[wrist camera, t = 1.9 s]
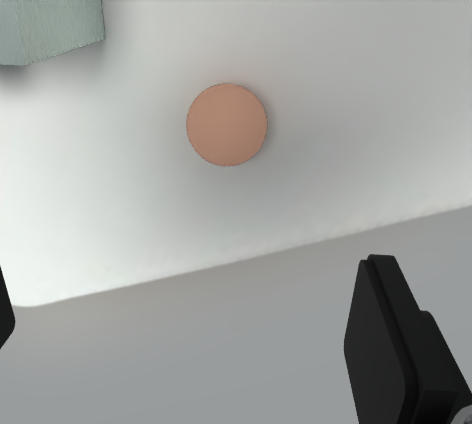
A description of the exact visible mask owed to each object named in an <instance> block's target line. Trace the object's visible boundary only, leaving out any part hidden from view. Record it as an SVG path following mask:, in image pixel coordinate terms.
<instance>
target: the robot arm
mask: <svg viewBox="0 0 472 424" xmlns="http://www.w3.org/2000/svg"><path fill="white" fill-rule="evenodd" d="M14 327H15V317H14V313H13V309H12V306H11V302H10V299H9V295H8V292H7V288H6V285H5V281H4V278H3V274H2V271H1V267H0V349H1V347H2V346H3V345H4V343H5V342H6V340H7V339H8V338H9V336H10V335H11V334H12V332H13V330H14ZM344 355H345V359H346V364H347V369H348V374H349V379H350V383H351V388H352V393H353V397H354V402H355V407H356V411H357V416H358V421H359V424H472V393H471V391H470V389H469V387H468V385H467V383H466V381H465V379H464V377H463V375H462V373H461V371H460V369H459V367H458V365H457V363H456V361H455V359H454V357H453V356H452V353H451V352H450V349H449V348H448V345H447V343H446V341H445V339H444V338H443V335H442V333H441V331H440V330H439V328H438V326H437V324H436V322H435V320H434V318H433V316H432V315H431V314H430V313H429V312H428V311H420V309H419V307H418V305H417V303H416V301H415V299H414V297H413V295H412V293H411V290H410V288H409V286H408V284H407V282H406V280H405V278H404V275H403V273H402V271H401V269H400V267H399V265H398V263H397V261H396V259H395V257H394V256H391V255H373V254H370V255H369V256H368V258H367V260H361V261H360V263H359V267H358V272H357V277H356V282H355V288H354V293H353V298H352V303H351V308H350V313H349V318H348V324H347V328H346V334H345V339H344Z"/></svg>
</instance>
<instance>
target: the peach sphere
mask: <svg viewBox="0 0 472 424" xmlns="http://www.w3.org/2000/svg"><path fill="white" fill-rule="evenodd" d="M186 127H187V134H188V138H189V141H190V143H191V145H192V147H193V148H194V149H195V151H196V152H197V153H198V154H199V155H200V156H201V157H202V158H203V159H205V160H206V161H208V162H210V163H213V164H215V165H220V166H234V165H238V164H241V163H243V162H245V161H247V160H249V159H250V158H252V157H253V156H254V155H255V154H256V153H257V152H258V150H259V149H260V148H261V146H262V144H263V142H264V140H265V136H266V132H267V118H266V114H265V110H264V108H263V106H262V104H261V103H260V101H259V100H258V98H257V97H256V96H255V95H254V94H253V93H251V92H250V91H249V90H247V89H245V88H243V87H241V86H238V85H234V84H220V85H215V86H212V87H210V88H208V89H206V90H205V91H203V92H202V93H201V94H200V95H198V97H197V98H196V99H195V100H194V102H193V103H192V105H191V107H190V109H189V112H188V115H187V121H186Z"/></svg>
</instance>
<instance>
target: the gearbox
mask: <svg viewBox="0 0 472 424" xmlns="http://www.w3.org/2000/svg"><path fill="white" fill-rule="evenodd" d="M102 39H105V30H104V22H103V13H102V4H101V0H0V65H24V66H27V65H30V64H33V63H36V62H39V61H41V60H44V59H47V58H50V57H53V56H56V55H59V54H62V53H65V52H67V51H70V50H73V49H76V48H79V47H82V46H85V45H88V44H91V43H94V42H96V41H99V40H102Z"/></svg>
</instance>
